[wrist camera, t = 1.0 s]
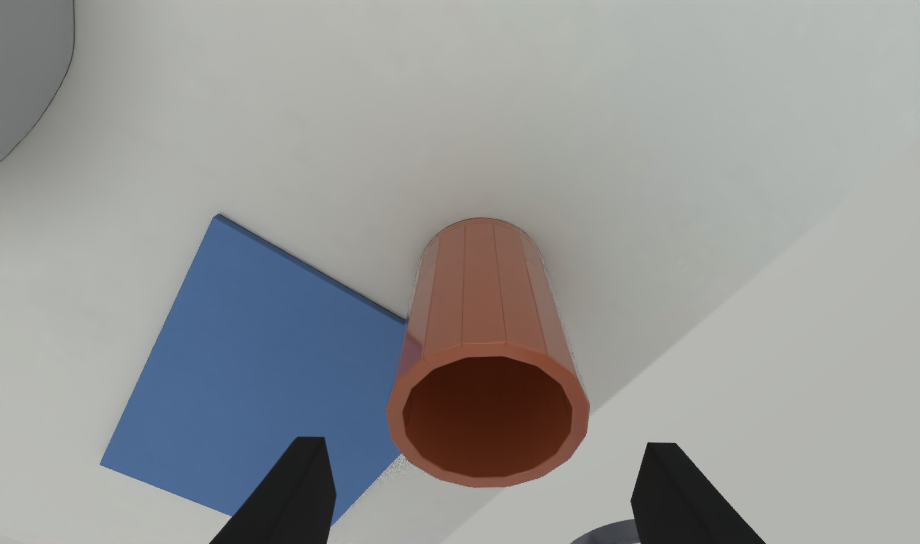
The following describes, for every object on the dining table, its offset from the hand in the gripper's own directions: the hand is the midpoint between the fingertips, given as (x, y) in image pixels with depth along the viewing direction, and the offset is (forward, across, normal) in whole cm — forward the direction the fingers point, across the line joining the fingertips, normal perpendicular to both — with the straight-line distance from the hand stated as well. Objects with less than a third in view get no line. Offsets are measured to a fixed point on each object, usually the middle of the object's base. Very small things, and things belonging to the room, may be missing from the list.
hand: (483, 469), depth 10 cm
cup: (+10, 0, 0) cm, 10 cm away
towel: (+10, +10, +9) cm, 17 cm away
